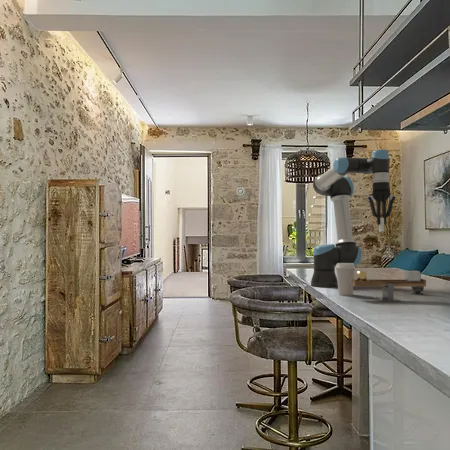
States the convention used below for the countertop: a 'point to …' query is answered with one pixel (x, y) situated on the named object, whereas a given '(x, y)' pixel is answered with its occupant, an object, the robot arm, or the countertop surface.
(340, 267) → the coffee cup
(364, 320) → the countertop surface
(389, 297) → the fulcrum
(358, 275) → the cylinder
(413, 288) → the salt shaker
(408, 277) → the block
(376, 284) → the wooden tray
